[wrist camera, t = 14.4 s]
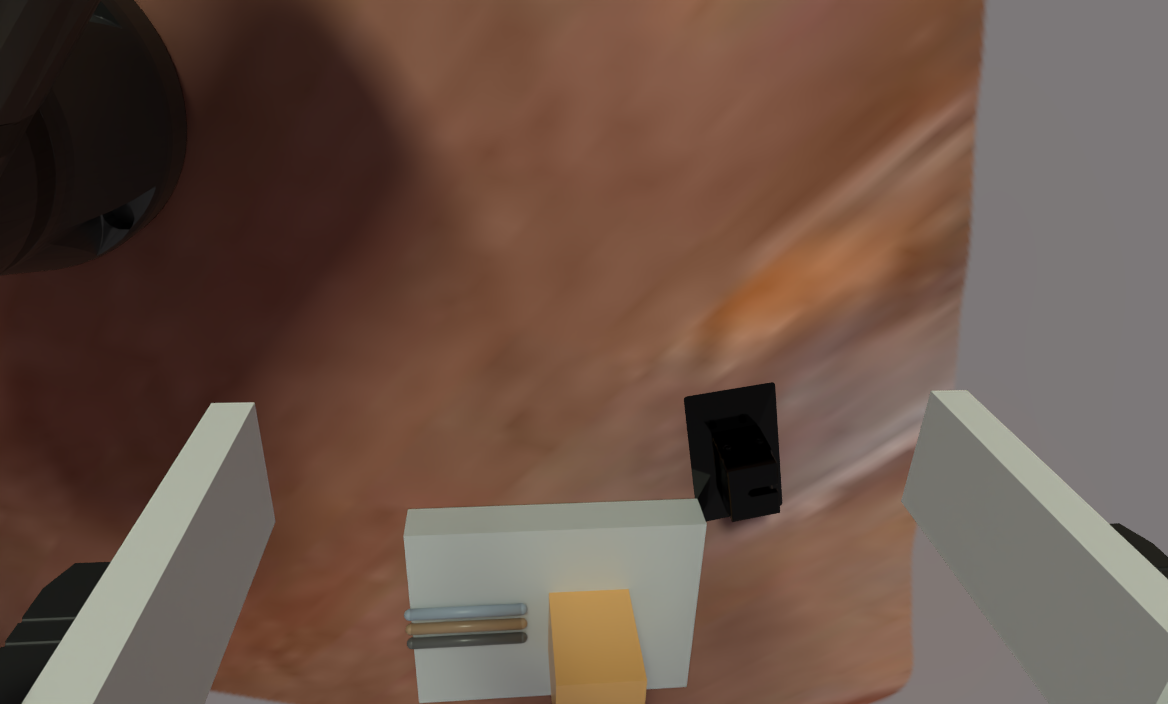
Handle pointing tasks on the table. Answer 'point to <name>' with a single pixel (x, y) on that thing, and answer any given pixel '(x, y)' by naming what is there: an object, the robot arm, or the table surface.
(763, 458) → the black power adapter
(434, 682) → the junction plate
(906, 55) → the table surface
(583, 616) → the cardboard-colored cube
